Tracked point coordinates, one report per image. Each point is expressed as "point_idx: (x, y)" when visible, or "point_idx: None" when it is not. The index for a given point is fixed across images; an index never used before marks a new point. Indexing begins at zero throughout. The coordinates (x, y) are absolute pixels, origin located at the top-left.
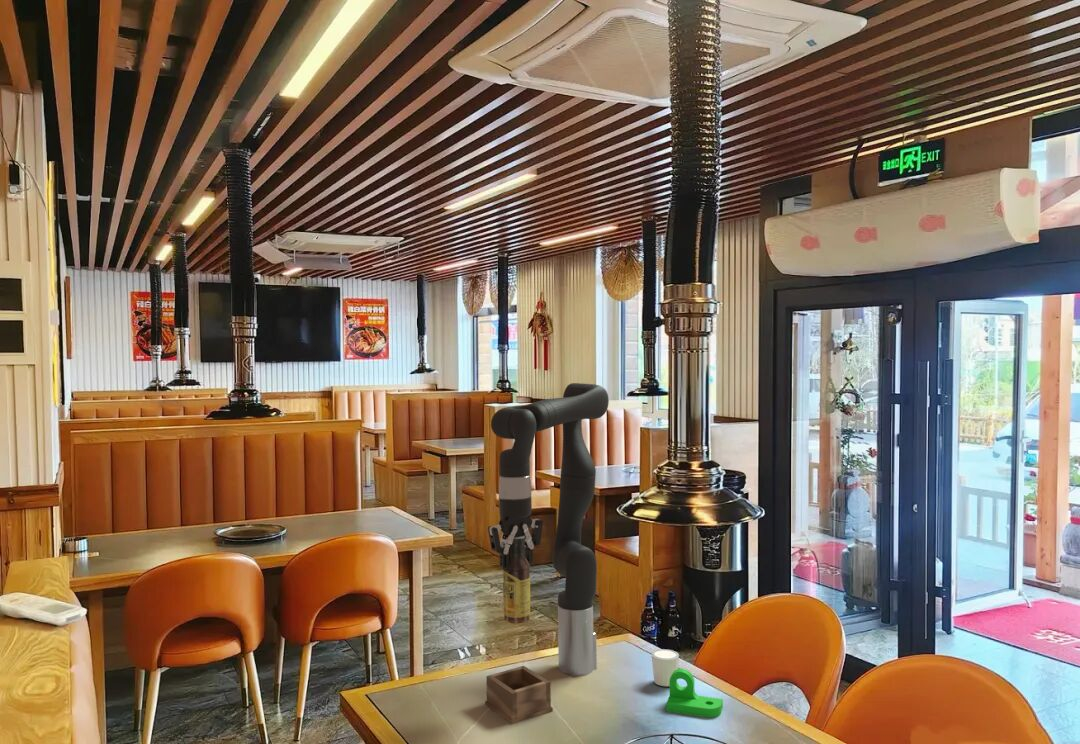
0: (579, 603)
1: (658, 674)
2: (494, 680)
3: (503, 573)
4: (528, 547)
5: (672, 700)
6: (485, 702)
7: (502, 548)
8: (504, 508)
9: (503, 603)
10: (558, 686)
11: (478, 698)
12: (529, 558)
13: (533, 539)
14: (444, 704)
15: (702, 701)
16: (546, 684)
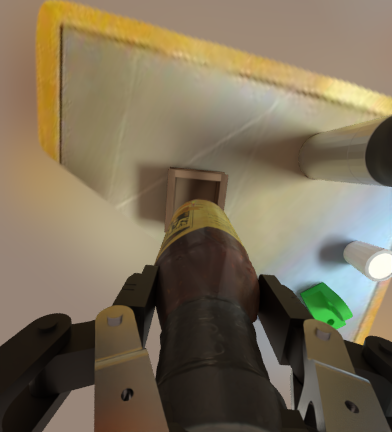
0: (389, 183)
1: (351, 259)
2: (168, 187)
3: (157, 256)
4: (292, 368)
5: (312, 298)
6: (170, 168)
7: (89, 382)
8: None
9: (173, 217)
10: (265, 184)
11: (175, 145)
12: (266, 328)
13: (388, 386)
14: (134, 131)
15: (329, 316)
16: None
